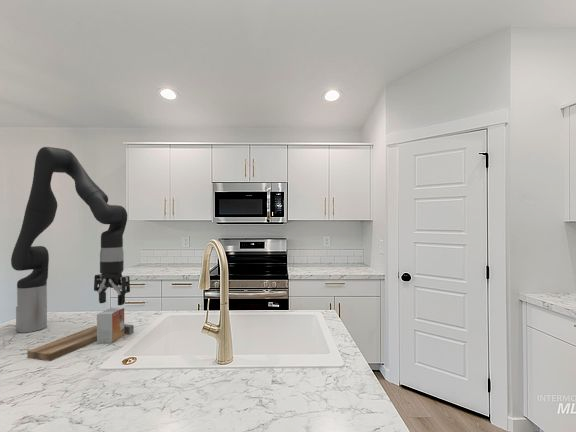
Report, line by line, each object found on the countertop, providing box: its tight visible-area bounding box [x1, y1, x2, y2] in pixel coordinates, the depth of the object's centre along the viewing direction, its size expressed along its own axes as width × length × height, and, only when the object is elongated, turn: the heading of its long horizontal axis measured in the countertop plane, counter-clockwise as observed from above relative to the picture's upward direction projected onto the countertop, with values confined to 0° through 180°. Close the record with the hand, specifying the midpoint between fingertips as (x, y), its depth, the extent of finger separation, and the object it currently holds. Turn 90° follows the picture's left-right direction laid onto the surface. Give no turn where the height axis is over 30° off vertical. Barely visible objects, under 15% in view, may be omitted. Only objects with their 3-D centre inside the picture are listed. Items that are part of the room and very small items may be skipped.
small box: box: [96, 307, 125, 344], centre depth 111 cm, size 8×6×10 cm
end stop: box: [124, 323, 135, 336], centre depth 117 cm, size 6×2×3 cm, turn 73°
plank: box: [26, 325, 97, 362], centre depth 107 cm, size 10×24×2 cm, turn 163°
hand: (111, 303), depth 111 cm, fingers open, 8 cm apart
